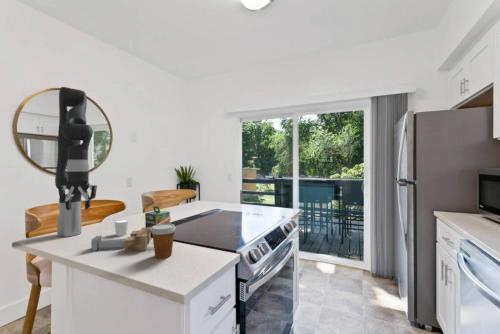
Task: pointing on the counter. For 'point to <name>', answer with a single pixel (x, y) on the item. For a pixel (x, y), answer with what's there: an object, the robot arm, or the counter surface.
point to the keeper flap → (161, 223)
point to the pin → (106, 244)
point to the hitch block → (138, 240)
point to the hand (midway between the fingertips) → (78, 209)
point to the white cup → (121, 227)
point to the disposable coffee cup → (163, 239)
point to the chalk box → (155, 217)
